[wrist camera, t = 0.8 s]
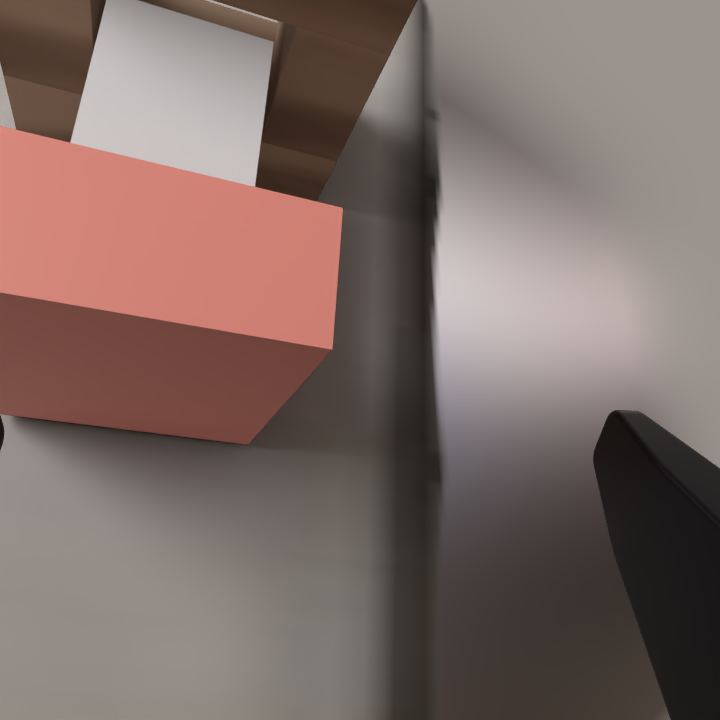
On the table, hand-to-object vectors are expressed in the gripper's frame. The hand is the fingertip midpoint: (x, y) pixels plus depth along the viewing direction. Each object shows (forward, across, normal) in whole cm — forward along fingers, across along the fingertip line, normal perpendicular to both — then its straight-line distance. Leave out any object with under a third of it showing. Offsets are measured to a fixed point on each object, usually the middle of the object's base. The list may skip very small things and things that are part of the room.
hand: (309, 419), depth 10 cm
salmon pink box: (+11, +5, +4) cm, 13 cm away
